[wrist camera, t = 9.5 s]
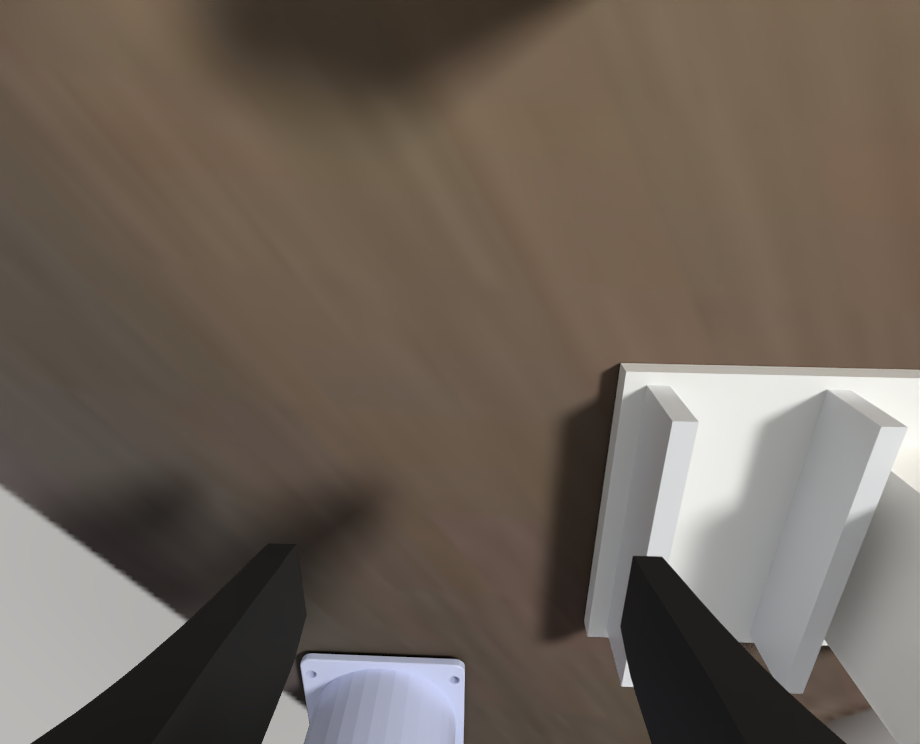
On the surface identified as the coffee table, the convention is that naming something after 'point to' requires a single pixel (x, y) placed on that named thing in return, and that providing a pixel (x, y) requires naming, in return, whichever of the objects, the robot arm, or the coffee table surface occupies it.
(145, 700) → the robot arm
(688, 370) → the dish rack
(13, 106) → the coffee table surface
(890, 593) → the cream rectangular prism
